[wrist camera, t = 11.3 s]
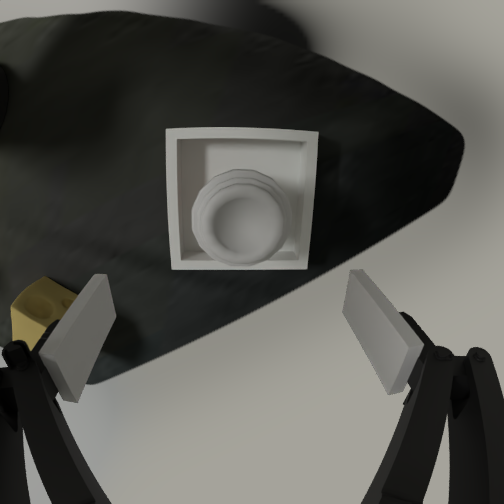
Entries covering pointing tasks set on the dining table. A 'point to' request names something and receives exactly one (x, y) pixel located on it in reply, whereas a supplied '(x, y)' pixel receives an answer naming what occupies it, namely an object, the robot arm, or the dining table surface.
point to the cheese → (39, 309)
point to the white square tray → (239, 157)
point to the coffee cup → (241, 217)
